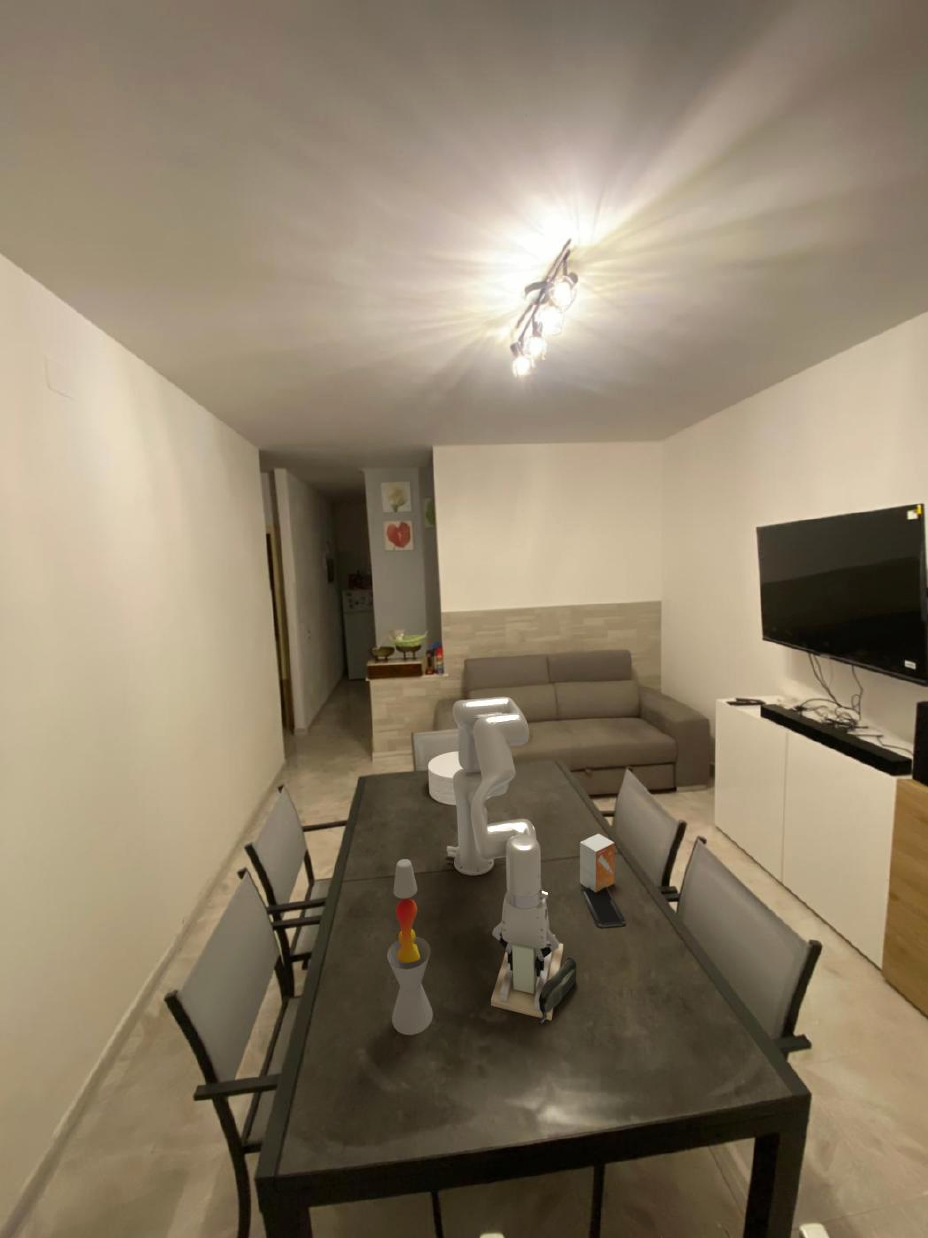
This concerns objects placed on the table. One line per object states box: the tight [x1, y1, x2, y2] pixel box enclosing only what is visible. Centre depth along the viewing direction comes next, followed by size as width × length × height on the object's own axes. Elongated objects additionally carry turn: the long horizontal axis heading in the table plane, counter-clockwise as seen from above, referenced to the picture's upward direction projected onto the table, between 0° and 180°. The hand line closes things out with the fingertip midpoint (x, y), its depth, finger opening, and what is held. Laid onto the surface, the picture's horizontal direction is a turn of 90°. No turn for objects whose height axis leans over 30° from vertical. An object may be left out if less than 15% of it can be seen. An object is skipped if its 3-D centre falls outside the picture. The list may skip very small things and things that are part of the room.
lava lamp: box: [386, 858, 434, 1036], centre depth 105 cm, size 9×9×35 cm
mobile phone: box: [539, 957, 577, 1024], centre depth 110 cm, size 5×3×15 cm
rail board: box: [490, 934, 564, 1021], centre depth 116 cm, size 20×13×12 cm, turn 162°
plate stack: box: [427, 750, 491, 806], centre depth 212 cm, size 28×28×12 cm
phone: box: [581, 887, 626, 929], centre depth 138 cm, size 8×1×15 cm
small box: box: [579, 833, 615, 892], centre depth 147 cm, size 8×6×13 cm
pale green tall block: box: [512, 944, 538, 994], centre depth 113 cm, size 4×6×10 cm
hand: (526, 968), depth 113 cm, fingers open, 5 cm apart
